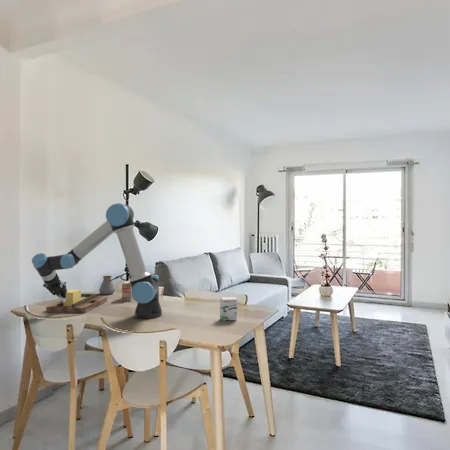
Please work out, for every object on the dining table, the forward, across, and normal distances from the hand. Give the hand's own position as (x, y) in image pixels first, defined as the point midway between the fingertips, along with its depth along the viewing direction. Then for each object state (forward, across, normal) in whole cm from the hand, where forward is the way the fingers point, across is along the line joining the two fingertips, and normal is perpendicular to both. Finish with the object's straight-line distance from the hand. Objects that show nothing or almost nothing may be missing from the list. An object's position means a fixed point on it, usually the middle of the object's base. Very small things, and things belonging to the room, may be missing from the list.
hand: (64, 300), depth 224 cm
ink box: (-1, +97, -11) cm, 98 cm away
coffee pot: (+43, +7, +34) cm, 55 cm away
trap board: (+15, +1, +6) cm, 17 cm away
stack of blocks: (+35, +26, +26) cm, 51 cm away
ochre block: (+8, +1, +3) cm, 8 cm away
